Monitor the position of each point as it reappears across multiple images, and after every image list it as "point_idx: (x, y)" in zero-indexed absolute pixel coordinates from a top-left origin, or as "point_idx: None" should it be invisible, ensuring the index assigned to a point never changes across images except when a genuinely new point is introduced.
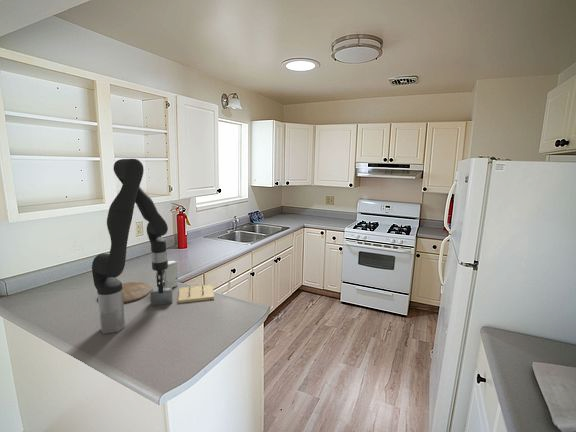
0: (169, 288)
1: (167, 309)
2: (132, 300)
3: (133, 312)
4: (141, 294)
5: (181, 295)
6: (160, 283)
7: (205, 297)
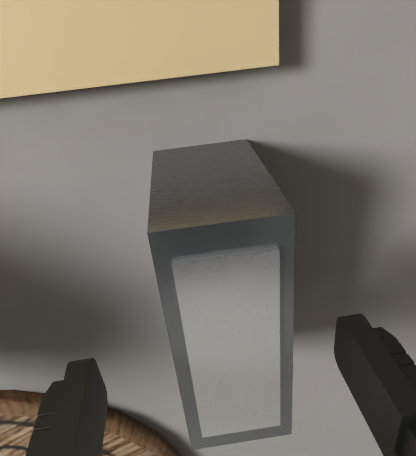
0: (213, 266)
1: (391, 160)
2: (162, 447)
3: (343, 384)
4: None
5: (108, 41)
6: (100, 442)
7: None
